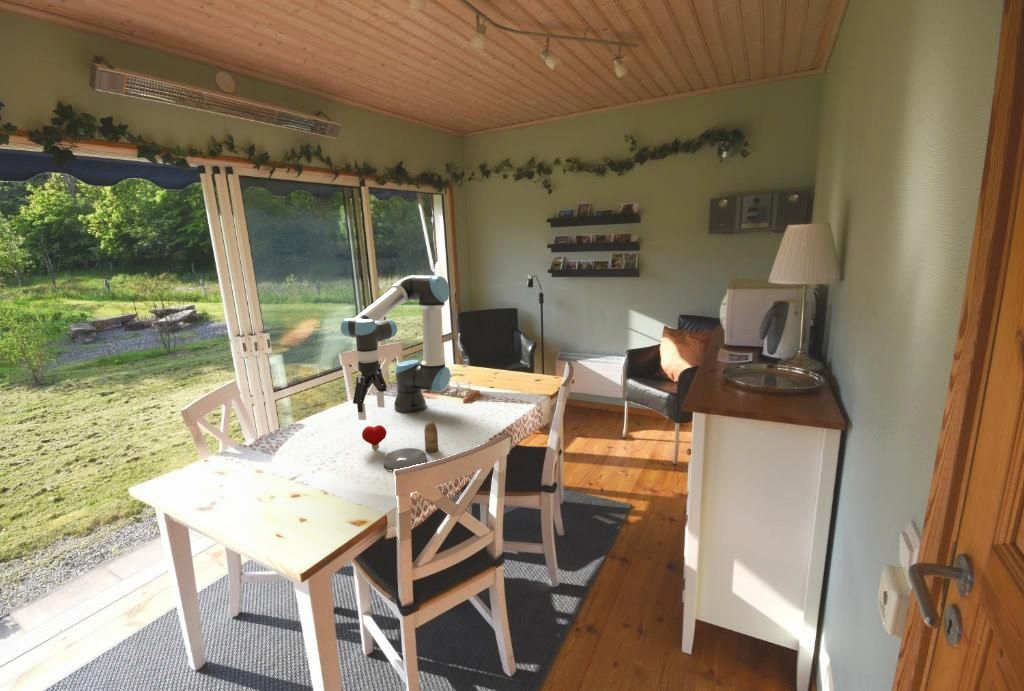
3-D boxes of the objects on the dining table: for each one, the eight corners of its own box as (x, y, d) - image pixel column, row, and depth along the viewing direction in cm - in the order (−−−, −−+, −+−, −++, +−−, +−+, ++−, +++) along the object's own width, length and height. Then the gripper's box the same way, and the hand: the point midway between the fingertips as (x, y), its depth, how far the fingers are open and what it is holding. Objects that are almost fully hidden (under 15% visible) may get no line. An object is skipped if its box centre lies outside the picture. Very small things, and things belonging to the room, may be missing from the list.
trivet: (396, 449, 189) (395, 446, 189) (433, 454, 185) (433, 450, 185) (374, 469, 174) (374, 465, 174) (414, 474, 170) (414, 470, 170)
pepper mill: (428, 447, 191) (427, 419, 188) (440, 448, 190) (438, 420, 187) (423, 452, 187) (421, 424, 184) (435, 454, 185) (433, 425, 183)
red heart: (363, 455, 185) (361, 431, 182) (363, 447, 191) (361, 424, 189) (387, 452, 187) (386, 428, 185) (387, 444, 194) (385, 421, 191)
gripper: (376, 352, 193) (380, 401, 198) (339, 368, 170) (344, 424, 174) (393, 353, 191) (396, 403, 196) (358, 370, 168) (362, 426, 173)
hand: (372, 413), depth 185 cm, fingers open, 13 cm apart
